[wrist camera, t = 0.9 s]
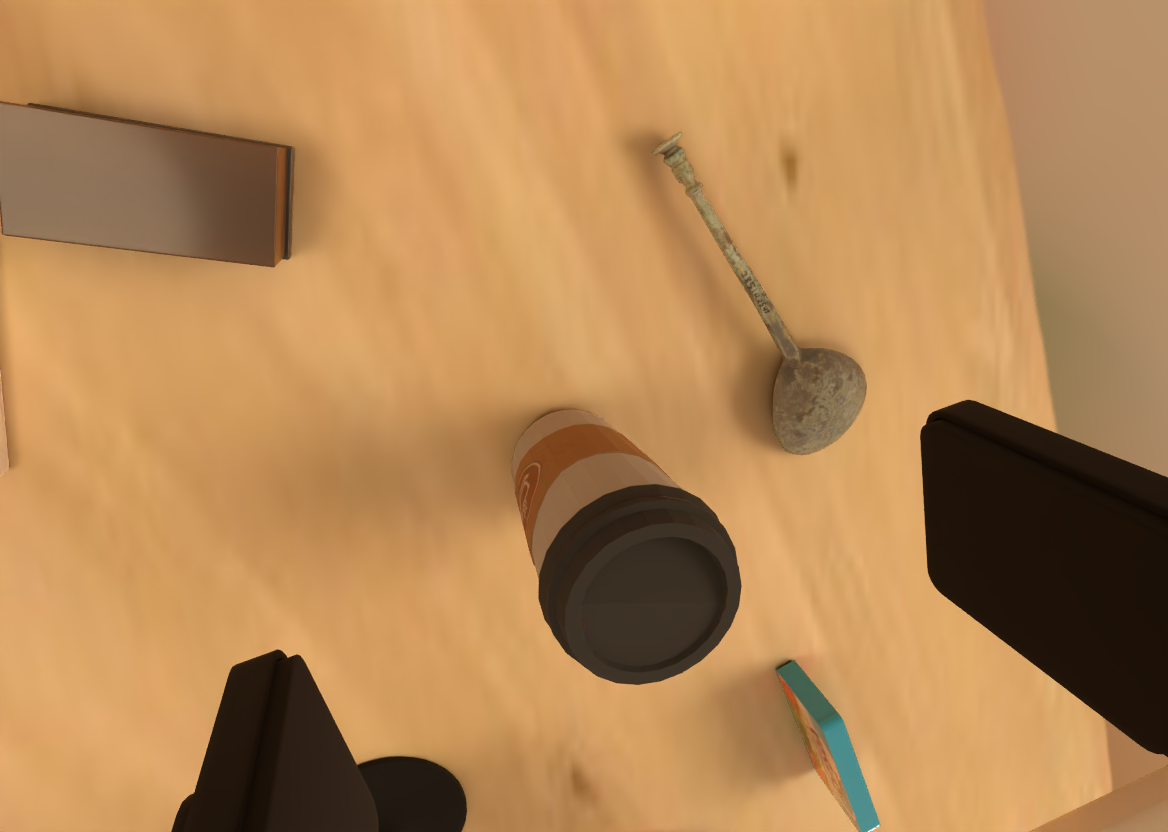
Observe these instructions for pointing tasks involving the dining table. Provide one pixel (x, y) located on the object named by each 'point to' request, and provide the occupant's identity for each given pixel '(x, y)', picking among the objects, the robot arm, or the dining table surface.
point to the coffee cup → (621, 552)
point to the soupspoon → (786, 347)
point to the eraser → (143, 186)
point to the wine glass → (415, 795)
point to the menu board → (3, 436)
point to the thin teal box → (828, 746)
